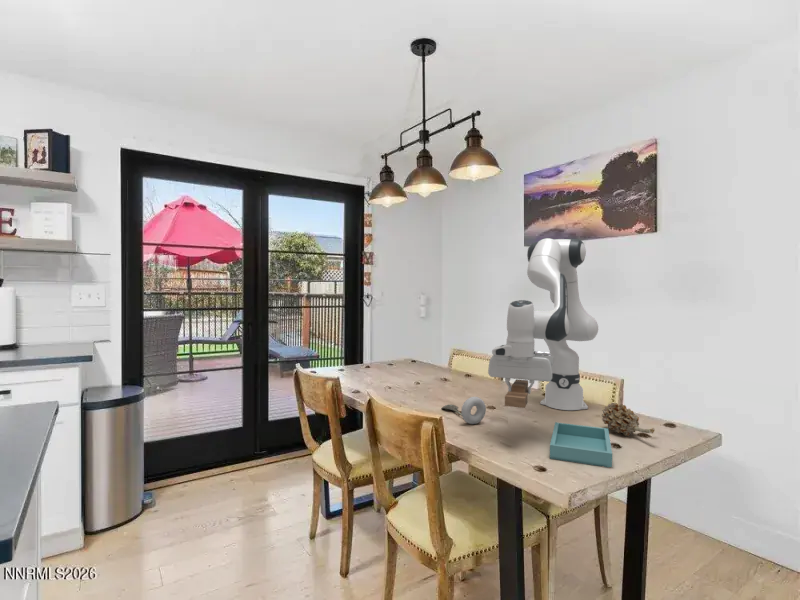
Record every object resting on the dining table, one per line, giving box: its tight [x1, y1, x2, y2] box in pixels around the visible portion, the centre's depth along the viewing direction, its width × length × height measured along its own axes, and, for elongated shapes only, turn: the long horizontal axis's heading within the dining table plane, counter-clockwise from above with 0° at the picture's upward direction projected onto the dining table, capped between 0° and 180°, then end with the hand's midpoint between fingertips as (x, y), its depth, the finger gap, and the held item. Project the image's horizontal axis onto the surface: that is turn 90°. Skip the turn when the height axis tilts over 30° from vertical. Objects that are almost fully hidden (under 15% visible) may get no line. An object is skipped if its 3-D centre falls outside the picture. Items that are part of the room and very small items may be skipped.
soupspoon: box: [441, 404, 468, 424], centre depth 175 cm, size 22×3×7 cm
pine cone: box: [601, 402, 656, 437], centre depth 152 cm, size 22×10×10 cm, turn 21°
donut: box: [460, 396, 487, 425], centre depth 163 cm, size 10×4×10 cm, turn 116°
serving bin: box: [549, 421, 613, 468], centre depth 139 cm, size 24×16×4 cm
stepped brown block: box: [504, 379, 529, 409], centre depth 146 cm, size 17×6×5 cm, turn 158°
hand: (519, 392), depth 147 cm, fingers closed on stepped brown block, 4 cm apart
